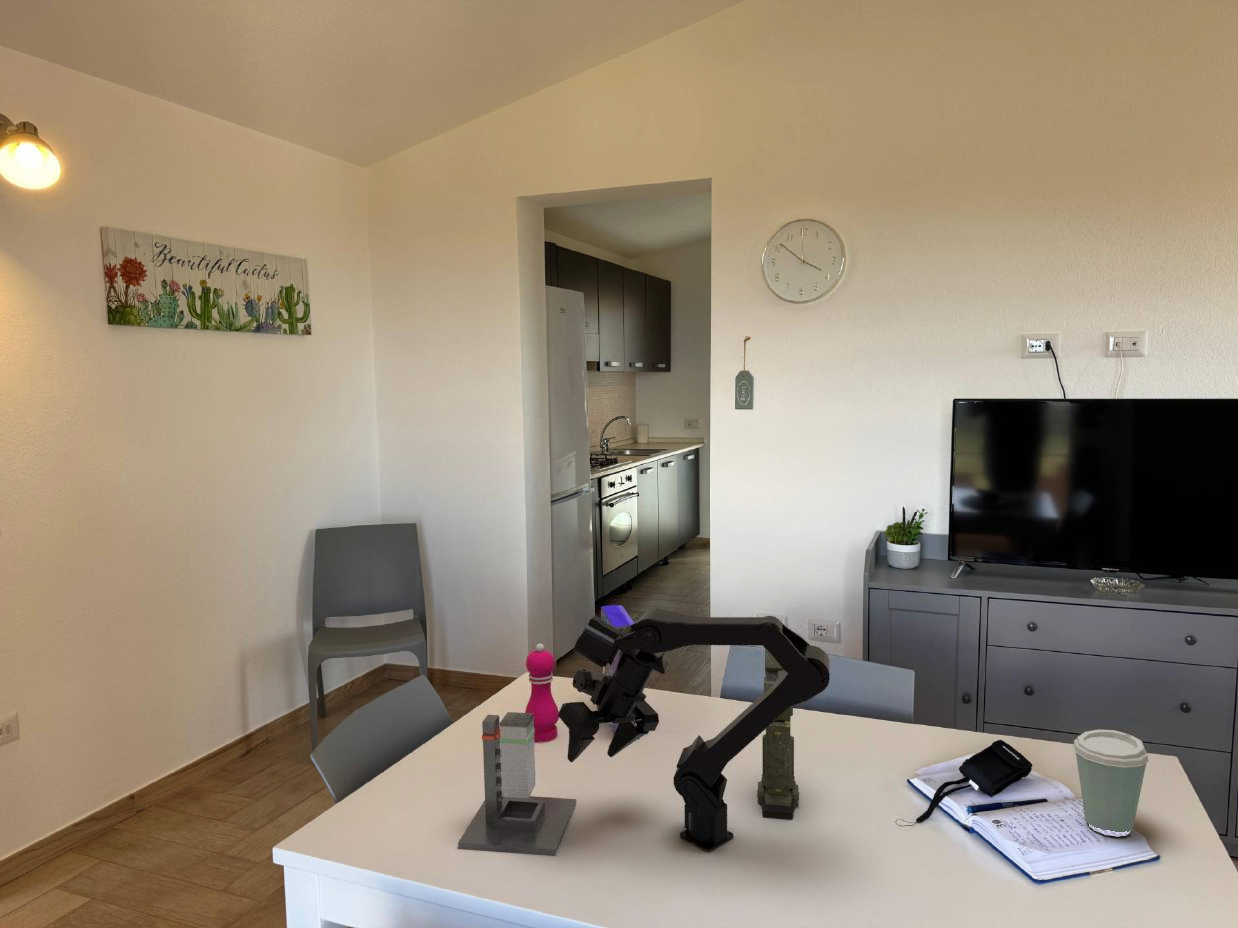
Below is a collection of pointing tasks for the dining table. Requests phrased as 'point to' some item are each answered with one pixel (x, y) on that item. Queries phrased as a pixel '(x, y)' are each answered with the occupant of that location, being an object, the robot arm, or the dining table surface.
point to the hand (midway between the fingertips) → (589, 757)
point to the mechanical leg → (777, 758)
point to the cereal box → (619, 620)
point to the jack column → (517, 754)
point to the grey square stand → (513, 810)
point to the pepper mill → (542, 694)
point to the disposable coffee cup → (1110, 777)
